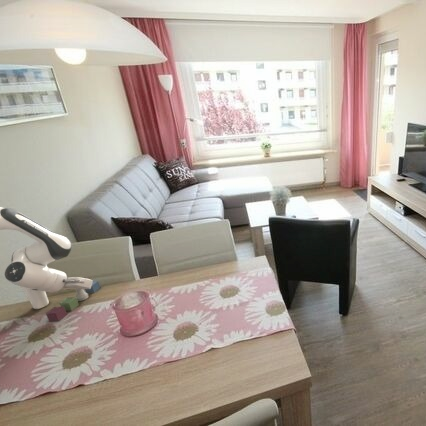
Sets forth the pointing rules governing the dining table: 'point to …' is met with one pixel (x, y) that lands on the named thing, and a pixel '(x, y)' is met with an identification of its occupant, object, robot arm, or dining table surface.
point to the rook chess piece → (81, 295)
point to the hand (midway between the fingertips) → (79, 287)
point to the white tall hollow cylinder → (36, 297)
